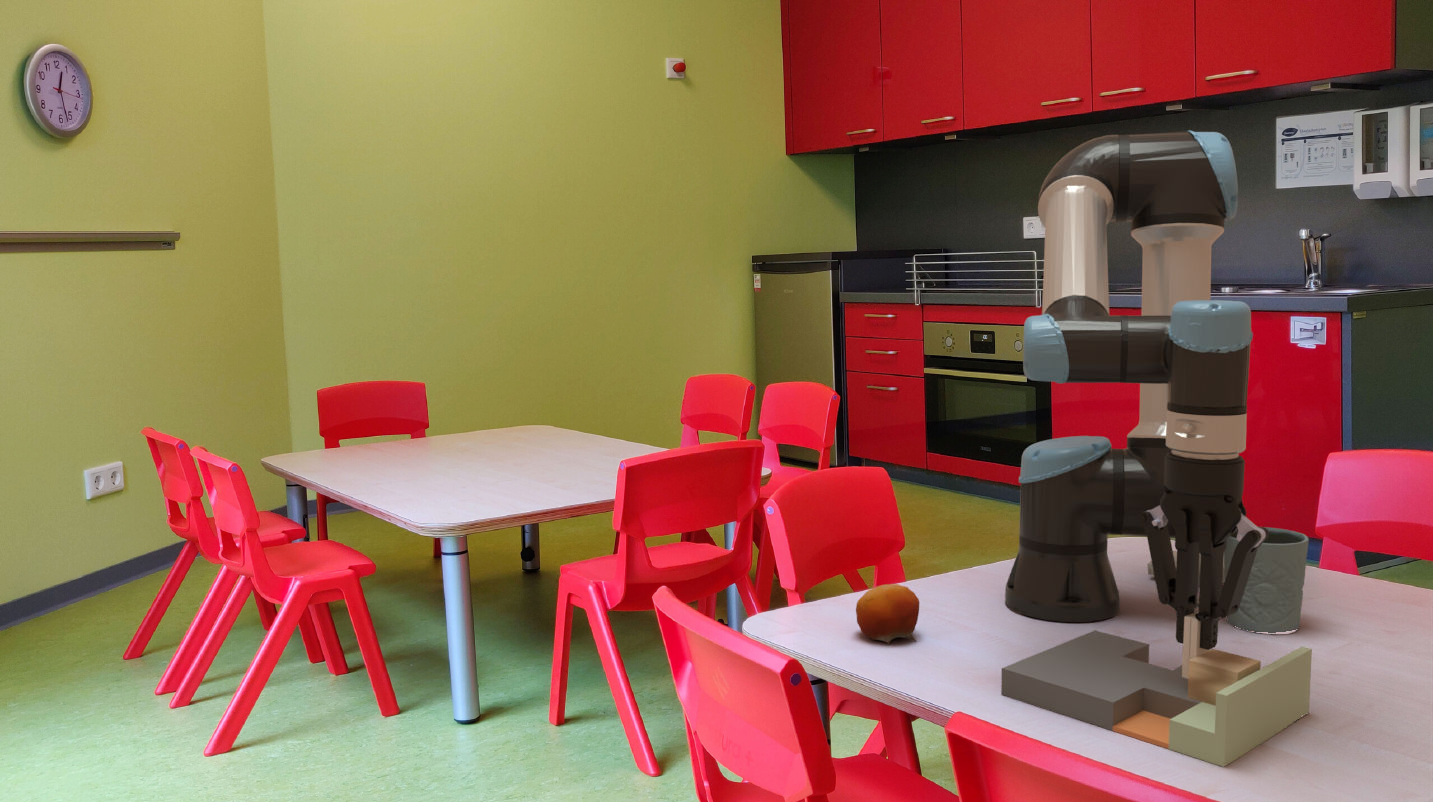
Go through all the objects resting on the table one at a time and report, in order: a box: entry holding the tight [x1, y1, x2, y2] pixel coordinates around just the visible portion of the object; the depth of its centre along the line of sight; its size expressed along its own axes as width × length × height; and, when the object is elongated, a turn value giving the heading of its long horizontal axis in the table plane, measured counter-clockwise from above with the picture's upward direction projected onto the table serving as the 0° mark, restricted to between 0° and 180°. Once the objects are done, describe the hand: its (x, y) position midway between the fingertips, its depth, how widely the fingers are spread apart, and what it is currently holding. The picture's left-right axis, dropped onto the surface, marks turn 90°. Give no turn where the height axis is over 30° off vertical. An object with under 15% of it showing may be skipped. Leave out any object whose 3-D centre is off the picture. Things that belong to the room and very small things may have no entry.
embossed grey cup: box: [1224, 526, 1309, 633], centre depth 149 cm, size 10×10×12 cm
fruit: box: [855, 583, 920, 645], centre depth 147 cm, size 8×8×8 cm
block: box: [1188, 648, 1262, 706], centre depth 117 cm, size 5×5×4 cm
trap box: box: [1000, 630, 1313, 768], centre depth 124 cm, size 25×19×7 cm
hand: (1194, 675), depth 120 cm, fingers closed
